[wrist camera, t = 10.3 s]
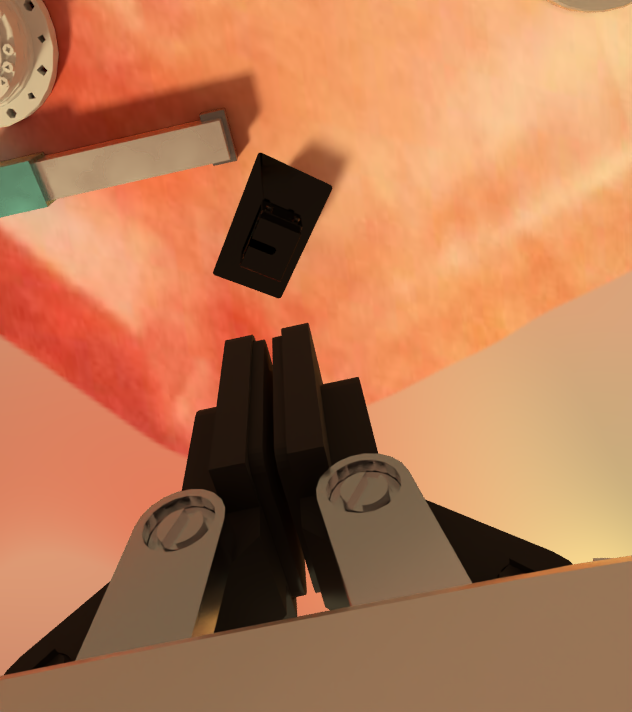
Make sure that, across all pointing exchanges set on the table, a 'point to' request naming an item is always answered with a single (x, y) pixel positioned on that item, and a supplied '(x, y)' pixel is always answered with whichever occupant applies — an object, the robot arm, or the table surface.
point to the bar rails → (114, 162)
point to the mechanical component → (25, 58)
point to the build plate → (271, 226)
